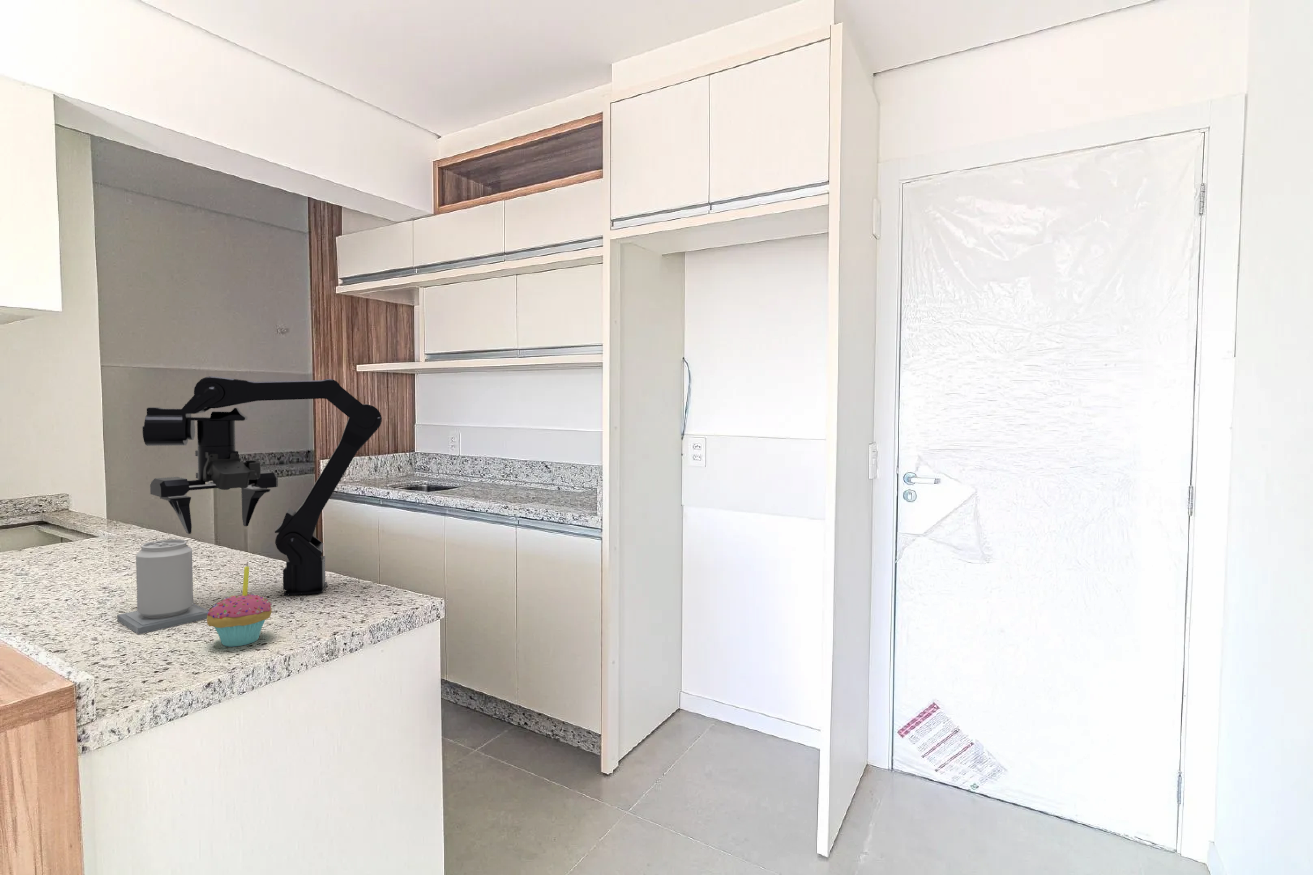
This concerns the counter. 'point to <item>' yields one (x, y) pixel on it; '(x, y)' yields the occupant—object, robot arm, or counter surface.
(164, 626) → the plate
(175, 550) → the can
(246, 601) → the cupcake
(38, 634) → the counter surface
